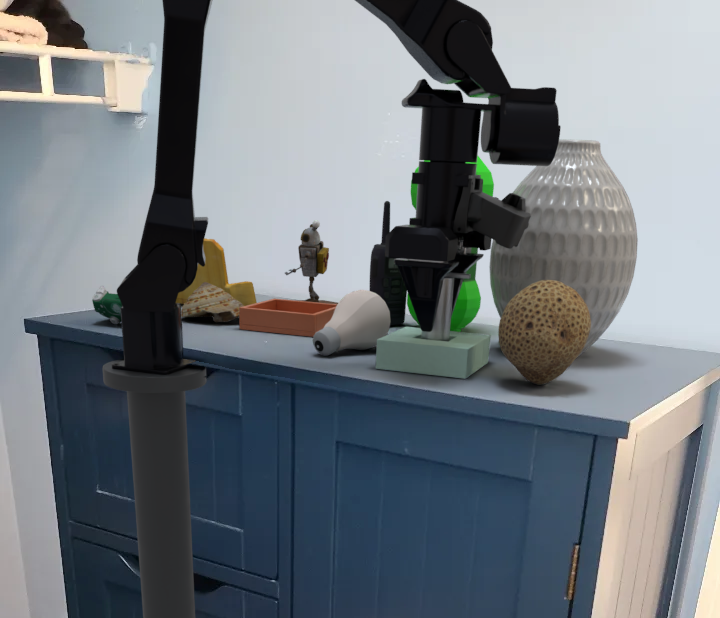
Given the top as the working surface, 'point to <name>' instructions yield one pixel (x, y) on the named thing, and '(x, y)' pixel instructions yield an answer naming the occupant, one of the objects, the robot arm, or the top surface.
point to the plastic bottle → (469, 290)
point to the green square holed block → (433, 353)
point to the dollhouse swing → (218, 276)
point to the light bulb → (354, 324)
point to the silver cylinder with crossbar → (444, 310)
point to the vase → (572, 235)
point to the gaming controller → (107, 305)
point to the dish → (286, 316)
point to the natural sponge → (544, 330)
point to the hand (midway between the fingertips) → (435, 327)
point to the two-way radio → (388, 276)
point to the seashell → (211, 304)
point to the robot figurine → (312, 259)
